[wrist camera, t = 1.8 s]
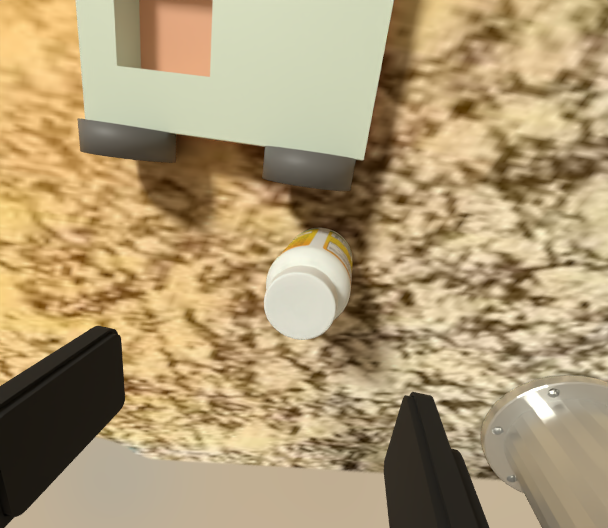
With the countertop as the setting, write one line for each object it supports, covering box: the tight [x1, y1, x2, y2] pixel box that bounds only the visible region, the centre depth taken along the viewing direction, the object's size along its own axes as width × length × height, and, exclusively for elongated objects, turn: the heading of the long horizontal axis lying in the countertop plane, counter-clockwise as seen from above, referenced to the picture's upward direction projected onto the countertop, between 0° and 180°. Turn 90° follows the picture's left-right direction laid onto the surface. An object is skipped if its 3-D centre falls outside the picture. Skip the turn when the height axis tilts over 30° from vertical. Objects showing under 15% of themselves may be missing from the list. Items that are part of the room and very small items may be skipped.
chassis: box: [76, 0, 394, 191], centre depth 19 cm, size 20×18×6 cm
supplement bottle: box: [264, 228, 352, 340], centre depth 21 cm, size 5×5×10 cm
